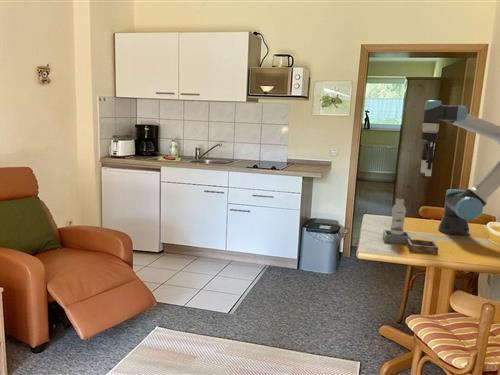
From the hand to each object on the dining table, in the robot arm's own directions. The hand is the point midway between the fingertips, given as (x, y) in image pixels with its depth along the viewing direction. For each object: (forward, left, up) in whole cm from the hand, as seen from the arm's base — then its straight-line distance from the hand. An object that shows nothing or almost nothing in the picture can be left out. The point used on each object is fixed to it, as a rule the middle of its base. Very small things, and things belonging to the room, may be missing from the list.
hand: (425, 174), depth 226 cm
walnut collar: (+3, +27, -32) cm, 41 cm away
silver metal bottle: (+13, +15, -31) cm, 37 cm away
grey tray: (+13, +15, -32) cm, 37 cm away
